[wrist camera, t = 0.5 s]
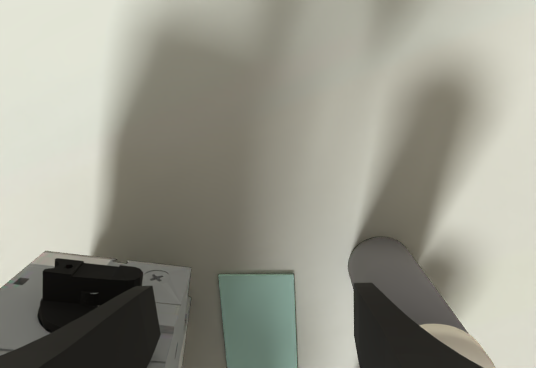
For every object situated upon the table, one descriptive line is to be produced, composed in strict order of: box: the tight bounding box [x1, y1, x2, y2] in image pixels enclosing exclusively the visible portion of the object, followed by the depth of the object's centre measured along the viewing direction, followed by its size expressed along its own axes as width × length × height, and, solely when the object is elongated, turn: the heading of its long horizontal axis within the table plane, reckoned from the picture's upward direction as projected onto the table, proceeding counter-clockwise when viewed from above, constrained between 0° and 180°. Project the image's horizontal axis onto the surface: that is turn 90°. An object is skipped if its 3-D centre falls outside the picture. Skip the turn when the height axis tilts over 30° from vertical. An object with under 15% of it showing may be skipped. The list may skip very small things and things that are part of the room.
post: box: [348, 237, 495, 368], centre depth 17 cm, size 4×4×9 cm
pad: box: [218, 274, 297, 368], centre depth 23 cm, size 9×5×1 cm, turn 3°
